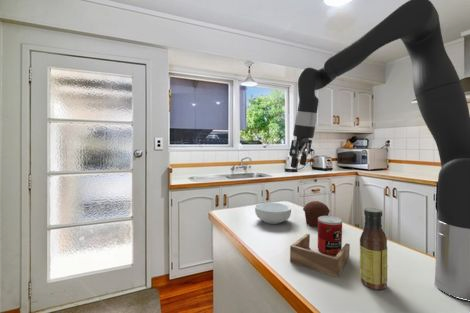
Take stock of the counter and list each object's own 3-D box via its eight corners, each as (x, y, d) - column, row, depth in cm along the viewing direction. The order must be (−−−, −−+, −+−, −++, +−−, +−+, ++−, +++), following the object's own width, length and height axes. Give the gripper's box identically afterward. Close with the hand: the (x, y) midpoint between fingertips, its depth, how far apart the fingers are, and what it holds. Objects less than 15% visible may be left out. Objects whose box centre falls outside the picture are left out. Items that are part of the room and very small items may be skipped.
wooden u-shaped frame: (306, 247, 85) (306, 233, 85) (349, 259, 76) (349, 244, 76) (290, 261, 75) (290, 245, 75) (336, 277, 66) (337, 259, 66)
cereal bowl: (294, 227, 105) (294, 211, 104) (256, 227, 105) (256, 211, 105) (287, 216, 122) (287, 202, 121) (254, 215, 122) (254, 202, 121)
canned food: (327, 257, 78) (327, 223, 77) (312, 247, 85) (313, 216, 85) (346, 254, 80) (347, 221, 79) (331, 244, 87) (331, 214, 87)
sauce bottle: (377, 277, 66) (379, 206, 65) (392, 291, 60) (395, 212, 59) (353, 277, 66) (355, 206, 65) (367, 291, 60) (369, 213, 59)
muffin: (318, 218, 117) (318, 198, 116) (335, 226, 107) (335, 203, 106) (297, 221, 113) (297, 200, 112) (313, 229, 102) (313, 206, 102)
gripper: (307, 125, 83) (299, 171, 86) (321, 126, 94) (314, 166, 97) (287, 122, 87) (281, 166, 90) (303, 123, 98) (296, 162, 101)
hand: (298, 166), depth 93 cm, fingers open, 8 cm apart
